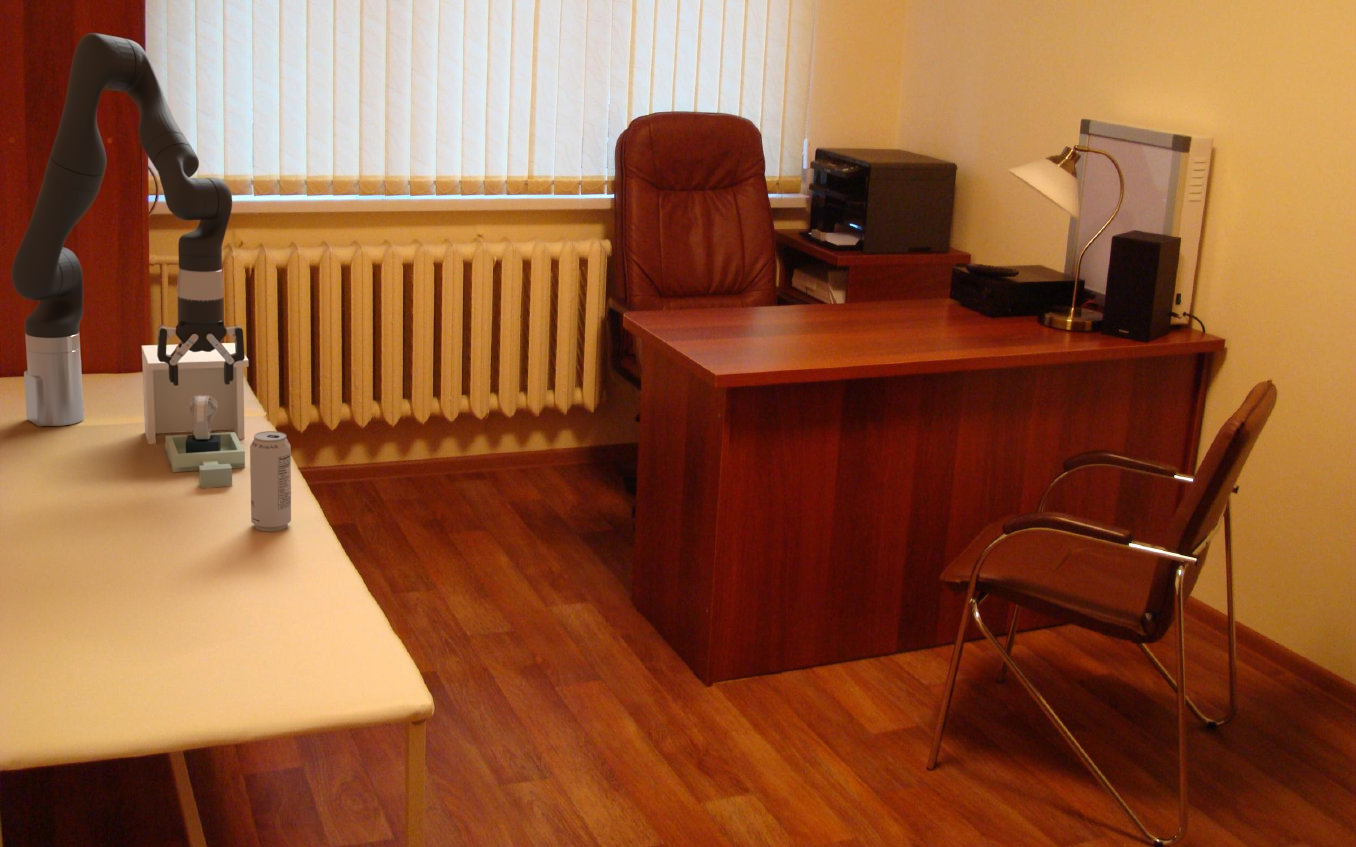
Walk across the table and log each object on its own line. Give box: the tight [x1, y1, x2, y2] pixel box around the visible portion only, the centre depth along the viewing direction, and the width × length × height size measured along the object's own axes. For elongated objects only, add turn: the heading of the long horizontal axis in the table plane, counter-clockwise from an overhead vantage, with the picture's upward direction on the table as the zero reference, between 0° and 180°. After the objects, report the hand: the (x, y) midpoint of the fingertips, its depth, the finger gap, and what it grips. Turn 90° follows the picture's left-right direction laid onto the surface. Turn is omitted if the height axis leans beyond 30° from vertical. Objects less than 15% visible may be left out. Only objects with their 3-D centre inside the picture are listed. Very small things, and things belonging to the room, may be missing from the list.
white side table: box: [141, 342, 250, 445], centre depth 238 cm, size 14×17×17 cm
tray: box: [165, 431, 246, 489], centre depth 225 cm, size 22×12×3 cm, turn 27°
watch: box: [186, 395, 221, 453], centre depth 228 cm, size 6×8×11 cm
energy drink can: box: [249, 430, 292, 533], centre depth 200 cm, size 6×6×15 cm
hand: (201, 384), depth 225 cm, fingers open, 8 cm apart
